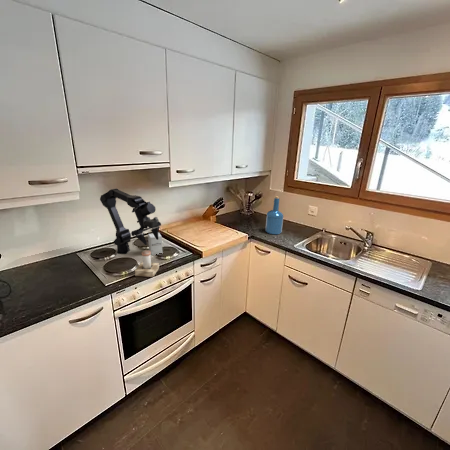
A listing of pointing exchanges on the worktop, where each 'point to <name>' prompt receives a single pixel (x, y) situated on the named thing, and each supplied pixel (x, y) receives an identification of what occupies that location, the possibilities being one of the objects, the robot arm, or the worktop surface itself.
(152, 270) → the beige square frame
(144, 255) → the white pink cylinder
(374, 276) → the worktop surface
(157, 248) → the supplement box
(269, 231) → the wine bottle
